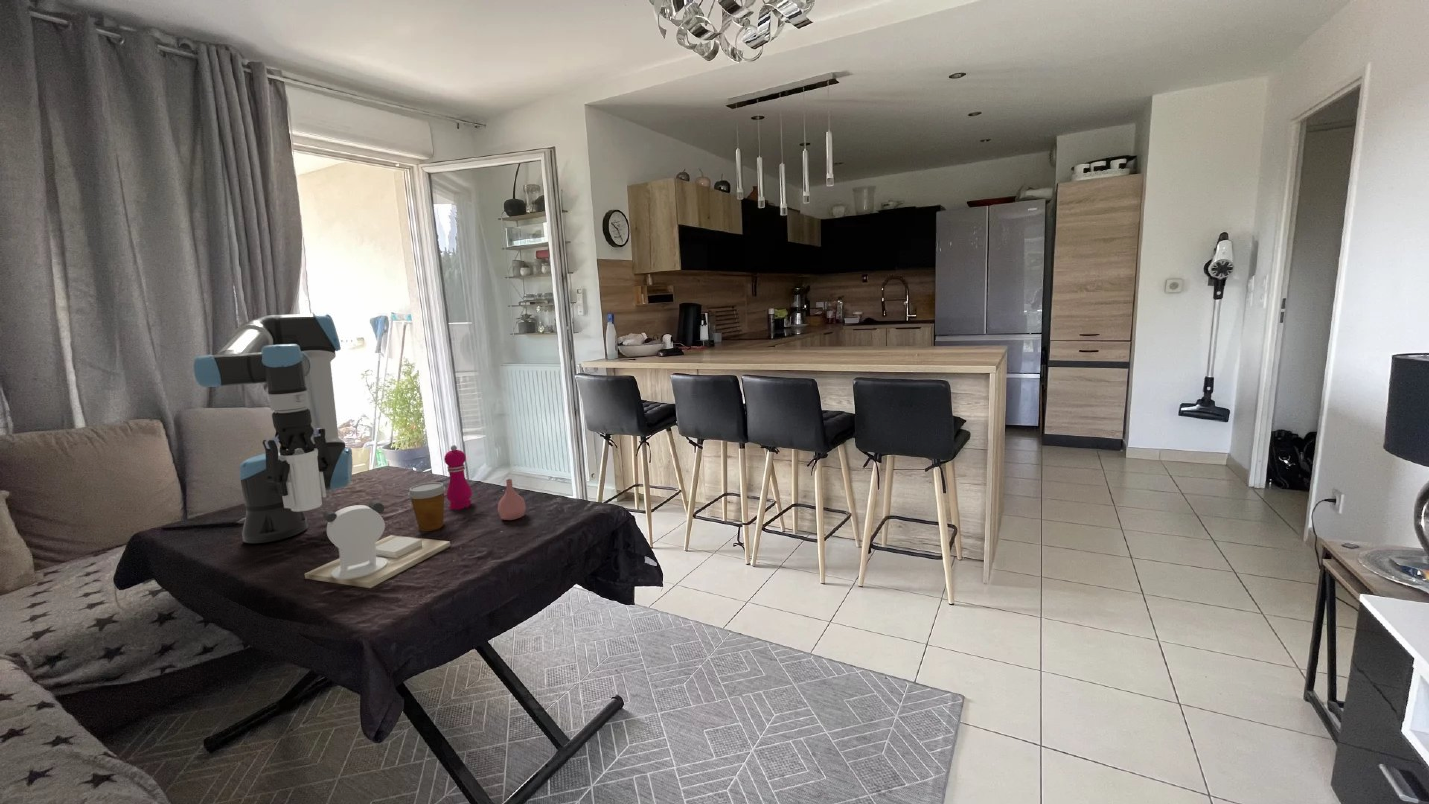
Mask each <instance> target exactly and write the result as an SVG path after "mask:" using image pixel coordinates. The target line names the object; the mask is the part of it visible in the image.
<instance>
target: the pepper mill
mask: <svg viewBox="0 0 1429 804" xmlns="http://www.w3.org/2000/svg"><path fill="white" fill-rule="evenodd" d="M466 459H467V458H466V454H465V452H464V451H462V450H461V449H458V446H457V445H455V444H453V445H451V446H450V450H449V451H447V452H446V453H445V455H444V463H445V464H446V465H447V467H446V469H447V472H449V483H448V487H447V488H446V489H447V490H446V499H447V500H448V501H449V509H450V510H461V509H465V508H464V507H466V508H468V507H470V506H471V505H472V500H471V499H470V498H471V497H472V494H473V491H472V488H471V486H470V484H469V483H468V481H467V480H466V476H465V469H466V467H465V464H464V463H465V462H466ZM470 504H471V505H470ZM469 505H470V506H469Z"/></svg>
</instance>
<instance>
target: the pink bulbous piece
mask: <svg viewBox="0 0 1429 804" xmlns="http://www.w3.org/2000/svg"><path fill="white" fill-rule="evenodd" d="M505 482H506V489H505V492H504V493H503V494H504V495H503V496H502V497H501V498H500V500H499V501H498V503H497V512H498V514H499V517H500V519H501V520H505V521H506V520H507V521H513V520H517V519H520V518H522V517H524V516H525V514H526V507H527V506H526V505H527V504H526V502H525V499H524V498H523V497H522V496H521V495H519V494H518V493H517V492H516V491H515V489H514V487H513V480H512V478H509V479H506V480H505Z"/></svg>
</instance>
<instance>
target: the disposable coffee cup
mask: <svg viewBox="0 0 1429 804" xmlns="http://www.w3.org/2000/svg"><path fill="white" fill-rule="evenodd" d="M445 490H446V487H445V485H444V483H443V482H438V481H437V482H436V481H432V482H424V483H419V484H417V485H413V486H411V487H410V488H409V491H408V493H407V495H408V497H409V498H410V501H411V505H412V508H413V512H414V517H415V518H416V522H417V527H418V530H419V531H421V532H430V531H435V530H439V529H440V528H443V526H444V524H445V523H444V517H445V516H444V512H445V511H444V510H445V508H444V507H445V501H444V500H445V492H446V491H445Z"/></svg>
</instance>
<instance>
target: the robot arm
mask: <svg viewBox="0 0 1429 804" xmlns="http://www.w3.org/2000/svg"><path fill="white" fill-rule="evenodd" d="M341 350H342V349H341V344H340V339H339V335H338V333H337V328H336V326H335V323H334V320H333V317H332V316H331V315H330V314H328V313H323V312H322V313H317V312H316V313H314V312H311V313H292V314H291V313H289V314H285V313H284V314H270V315H269V314H267V315H263V316H260V317H256V318H254V319H250V320H249V321H246V322H245V323H242V324H241V325H239V326H238V327H236V328H235V330H234V331H233V332H232V334H231V336H230V341H229V342H227V344H225V346H223V347H222V348H221V349H220V350H219V352H217V353H216V354H207V355H199V356H196V358H195V359H194V361H193V364H192V365H193V367H192V368H193V374H194V378H195V380H196V382H197V384H198V385H199V386H200V387H202V388H210V387H211V388H215V387H216V388H222V387H229V386H231V387H232V386H242V385H243V386H244V385H254V384H266V386H267V388H266V389H267V396H268V401H269V407H270V411H273V412H272V414H271V419H272V425H273V428H274V429H275V434H274V436H273V437H271V438H269V439H264V440H262V442H261V443H262V446H263V448H264V450H265V453H262V454H259V455H255V456H252V457H250V458H246V459H245V460H243V461H242V462H241V463H240V464H239V467H238V469H239V470H238V471H239V481H240V485H241V489H242V495H243V501H244V507H245V510H246V511H245V512H246V514H245V519H244V522H243V527H242V531H241V537H242V541H243V542H244V543H247V544H261V543H270V542H271V543H272V542H275V541H281V540H284V539H287V538H291V537H293V536H296V535H298V534H301V533H303V532H305V531H306V530H307V529H308V528H309V525H308V519H307V517H306V516H305V514H304V513H303V512H304V511H299V512H295V511H291V509H293V508H295V502H294V496H293V490H292V484H291V481H287V479H288V474H289V469H290V464H288V463H287V461H286V460H285V461H281V460H280V459H278V454H279V453H280V455H282V456H290V455H293V454H294V452H295V449H300V448H301V449H303V451H304V452H305V453H309V452H312V451H314V449H315V448H317V449H318V456H317V460H318V469H319V479H320V489H321V499H322V498H323V499H324V498H327V491H333V490H337V489H340V488H341V489H342V488H346V487H347V486H349V484H350V483H351V480H352V476H353V475H352V473H353V451H352V448H351V447H346V442H345V441H344V440H342V439H341V438H340V437H339V430H338V420H337V411H336V410H337V409H336V402H335V393H334V384H333V383H334V382H333V376H332V375H333V373H332V364H331V362H332V361H333V360H334V359H335V358H336V357H337V356H336V354H337V353H336V352H339V351H341ZM278 447H279V449H278Z"/></svg>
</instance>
